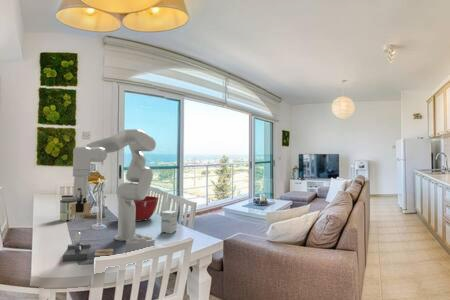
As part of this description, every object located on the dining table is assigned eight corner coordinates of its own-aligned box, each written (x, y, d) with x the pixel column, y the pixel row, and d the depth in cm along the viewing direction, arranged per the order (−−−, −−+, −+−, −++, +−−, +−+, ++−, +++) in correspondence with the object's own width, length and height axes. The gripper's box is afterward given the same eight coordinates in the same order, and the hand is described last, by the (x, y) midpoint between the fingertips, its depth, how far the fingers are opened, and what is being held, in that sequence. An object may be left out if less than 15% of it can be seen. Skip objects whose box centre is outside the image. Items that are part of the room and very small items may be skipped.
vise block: (68, 253, 143) (69, 230, 143) (91, 251, 146) (91, 229, 146) (62, 261, 132) (63, 237, 132) (87, 260, 135) (87, 235, 135)
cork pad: (96, 251, 147) (96, 249, 147) (113, 249, 149) (113, 248, 149) (94, 256, 139) (94, 255, 139) (112, 255, 141) (112, 253, 141)
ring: (74, 212, 142) (75, 202, 142) (90, 212, 144) (90, 202, 144) (71, 214, 135) (71, 203, 136) (87, 214, 137) (88, 203, 138)
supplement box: (160, 232, 183) (161, 212, 183) (167, 229, 189) (167, 210, 190) (170, 234, 180) (171, 213, 180) (177, 231, 187) (177, 211, 187)
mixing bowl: (111, 218, 218) (112, 197, 218) (147, 213, 237) (147, 194, 237) (127, 226, 197) (128, 202, 197) (165, 220, 216) (165, 199, 216)
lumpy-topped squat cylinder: (156, 254, 143) (156, 237, 143) (128, 259, 136) (129, 240, 136) (149, 248, 152) (149, 231, 152) (123, 253, 145) (123, 235, 145)
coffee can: (65, 217, 218) (66, 198, 218) (78, 218, 217) (79, 199, 217) (56, 220, 208) (56, 200, 208) (70, 221, 207) (70, 201, 207)
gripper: (76, 171, 147) (76, 207, 147) (68, 174, 130) (68, 214, 130) (93, 171, 149) (92, 206, 149) (87, 174, 132) (86, 214, 132)
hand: (81, 210), depth 140 cm, fingers closed on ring, 7 cm apart
